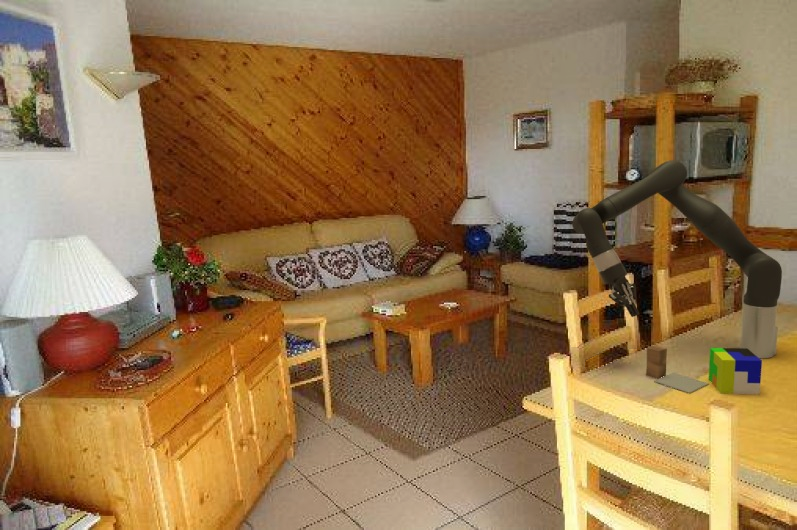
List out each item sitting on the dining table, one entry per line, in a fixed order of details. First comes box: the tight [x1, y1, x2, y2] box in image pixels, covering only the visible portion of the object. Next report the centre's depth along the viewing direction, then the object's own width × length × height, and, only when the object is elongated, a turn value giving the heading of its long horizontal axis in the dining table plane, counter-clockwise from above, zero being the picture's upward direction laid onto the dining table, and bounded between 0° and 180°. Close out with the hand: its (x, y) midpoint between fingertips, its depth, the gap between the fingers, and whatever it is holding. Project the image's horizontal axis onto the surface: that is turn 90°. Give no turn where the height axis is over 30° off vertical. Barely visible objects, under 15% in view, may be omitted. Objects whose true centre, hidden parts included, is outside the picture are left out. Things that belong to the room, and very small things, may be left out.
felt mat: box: [653, 372, 710, 394], centre depth 166 cm, size 10×11×1 cm
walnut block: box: [645, 344, 668, 380], centre depth 172 cm, size 4×4×9 cm
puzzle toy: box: [708, 347, 763, 395], centre depth 161 cm, size 10×10×10 cm
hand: (635, 315), depth 175 cm, fingers closed
